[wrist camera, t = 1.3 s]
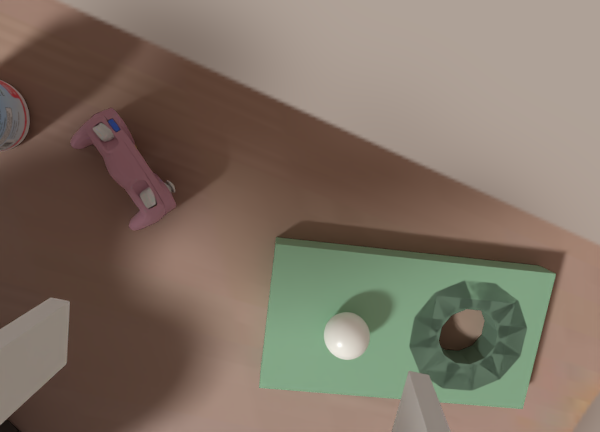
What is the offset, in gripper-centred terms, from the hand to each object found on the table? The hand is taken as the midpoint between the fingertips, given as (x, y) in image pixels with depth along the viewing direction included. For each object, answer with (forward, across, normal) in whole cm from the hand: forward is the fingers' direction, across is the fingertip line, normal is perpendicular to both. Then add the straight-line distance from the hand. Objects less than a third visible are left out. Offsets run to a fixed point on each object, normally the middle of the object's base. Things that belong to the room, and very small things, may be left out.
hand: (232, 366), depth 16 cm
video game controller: (+22, +15, -2) cm, 26 cm away
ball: (+19, -7, +8) cm, 22 cm away
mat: (+24, -12, +8) cm, 28 cm away
